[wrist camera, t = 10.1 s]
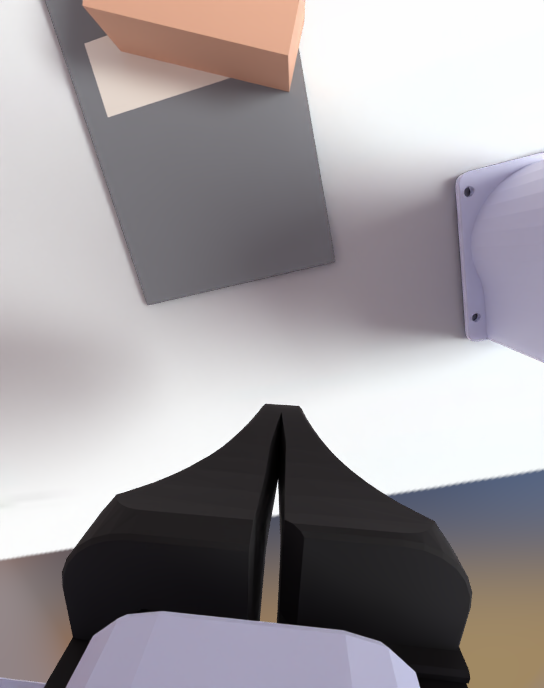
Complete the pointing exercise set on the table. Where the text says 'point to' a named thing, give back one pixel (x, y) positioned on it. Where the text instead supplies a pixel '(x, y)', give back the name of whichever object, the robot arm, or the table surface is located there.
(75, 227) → the table surface
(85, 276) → the table surface
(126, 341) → the table surface
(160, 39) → the t block
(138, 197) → the t mat
